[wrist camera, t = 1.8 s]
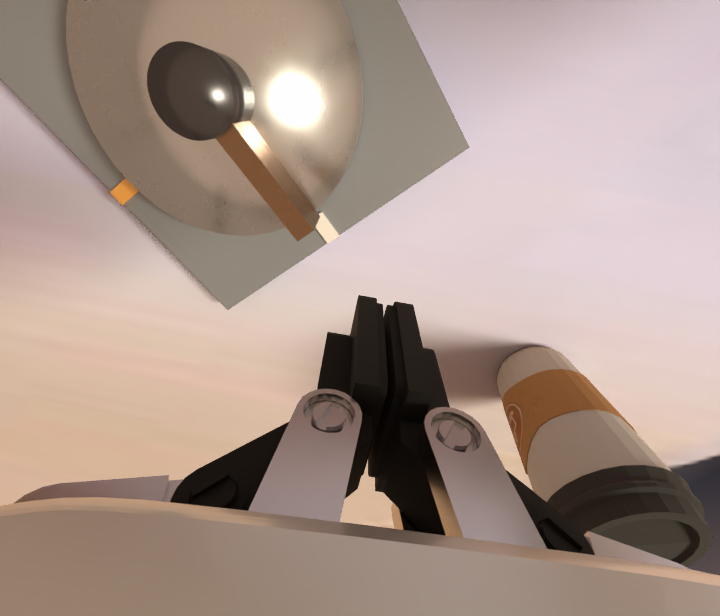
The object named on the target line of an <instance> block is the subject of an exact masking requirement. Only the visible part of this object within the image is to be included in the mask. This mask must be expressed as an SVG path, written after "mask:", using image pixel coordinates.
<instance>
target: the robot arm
mask: <svg viewBox="0 0 720 616" xmlns="http://www.w3.org/2000/svg"><path fill="white" fill-rule="evenodd" d="M367 460H368V475H369V476H370V477H375V491H379V492H384V493H385V494H386V496H387V497H388V498H389V499H390V500H391V501H392V502H393V504H392V518H393V523H394V528H395V529H391V528H383V527H375V526H367V525H359V524H351V523H343V522H340V517H341V513H342V508H343V504H344V499H345V498H346V497H348V496H349V495H350V494H351V493H353V492H354V491H355V490H356V489H357V488H358V485H359V482H360V478H361V475H363V473H364V470H365V467H366V464H367ZM0 616H720V576H718V575H714V574H709V573H704V572H699V571H694V570H691V569H689V568H687V567H685V566H683V565H681V564H679V563H676V562H673V561H671V560H668V559H665V558H662V557H659V556H657V555H654V554H651V553H648V552H645V551H643V550H640V549H637V548H634V547H631V546H629V545H626V544H623V543H620V542H617V541H615V540H612V539H609V538H606V537H603V536H601V535H598V534H595V533H592V532H589V531H587V532H586V534H585V535H583V534H582V532H581V531H580V530H579V529H578V528H577V527H576V526H575V525H574V524H573V523H572V522H571V521H570V520H569V519H567V518H566V517H565V516H563V515H562V514H561V513H560V512H558V511H557V510H556V509H555V508H553V507H552V506H551V505H550V504H548V503H547V502H546V501H545V500H543V499H542V498H541V497H539V496H538V495H537V494H536V493H534V492H533V491H532V490H531V489H529V488H528V487H527V486H526V485H524V484H523V483H522V482H520V481H519V480H518V479H517V478H515V477H514V476H513V475H512V474H510V473H509V472H508V471H507V470H505V468H504V466H503V464H502V462H501V460H500V459H499V457H498V455H497V453H496V451H495V449H494V447H493V445H492V443H491V442H490V440H489V438H488V436H487V434H486V432H485V431H484V429H483V428H482V426H481V425H480V424H479V423H478V422H477V421H476V420H475V419H474V418H473V417H471V416H470V415H468V414H466V413H465V412H463V411H460V410H458V409H455V408H450V407H449V403H448V400H447V396H446V392H445V389H444V385H443V381H442V378H441V374H440V370H439V367H438V363H437V359H436V356H435V353H434V350H432V349H427V348H423V346H422V342H421V337H420V333H419V329H418V324H417V320H416V316H415V311H414V307H413V305H411V304H406V303H400V302H394V304H393V306H391V305H387V307H386V310H385V314H384V317H383V304H379V303H377V299H376V298H371V297H366V296H360V295H359V296H358V300H357V305H356V310H355V315H354V320H353V324H352V329H351V334H350V336H349V335H343V334H337V333H331V332H328V333H327V339H326V344H325V349H324V355H323V360H322V366H321V371H320V377H319V382H318V388H317V390H314V391H311V392H309V393H307V394H306V395H305V396H303V397H302V398H301V400H300V401H299V402H298V404H297V406H296V408H295V410H294V413H293V415H292V417H291V419H290V421H289V422H288V423H286V424H284V425H282V426H280V427H278V428H276V429H274V430H272V431H270V432H268V433H266V434H265V435H263V436H261V437H259V438H257V439H255V440H253V441H251V442H249V443H247V444H245V445H243V446H241V447H240V448H238V449H236V450H234V451H232V452H230V453H228V454H226V455H224V456H222V457H220V458H218V459H216V460H215V461H213V462H211V463H209V464H207V465H205V466H203V467H201V468H199V469H197V470H196V471H194V472H193V473H191V474H190V475H188V476H187V477H186V478H185V479H184V480H171V481H169V475H165V476H151V477H138V478H125V479H112V480H99V481H86V482H73V483H60V484H55V485H50V486H45V487H42V488H39V489H37V490H35V491H33V492H31V493H29V494H26V495H24V496H23V497H22V498H20V499H19V500H18V501H16V502H15V503H13V504H9V505H4V506H0Z"/></svg>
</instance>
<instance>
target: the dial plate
mask: <svg viewBox="0 0 720 616" xmlns="http://www.w3.org/2000/svg"><path fill="white" fill-rule="evenodd" d="M340 1H341V3H342V5H343V7H344V9H345V12H346V14H347V17H348V20H349V23H350V26H351V29H352V31H353V34H354V38H355V42H356V46H357V51H358V55H359V59H360V66H361V74H362V82H363V108H362V117H361V126H360V130H359V134H358V139H357V143H356V146H355V149H354V152H353V154H352V157H351V160H350V163H349V165H348V167H347V169H346V170H345V172H344V174H343V176H342V178H341V180H340V181H339V183H338V184H337V186H336V187H335V189H334V190H333V192H332V193H331V194H330V195H329V196H328V197H327V198H326V200H325V201H324V202H323V203H322V204H321V205H320V206H319V207H318V208H316V209H315V210H316V211H317V213H318V214H319V215H320V218H319V220H318V223H317V225H316V227H315V229H314V231H312V232H311V233H310V234H308V235H307V236H305V237H304V238H302V239H301V240H299V241H298V242H297V240H296V239H295V238H294V237H293V235H292V234H291V233H290V232H289V230H288V229H287V228H283V229H281V230H277V231H274V232H270V233H266V234H259V235H252V236H235V235H227V234H219V233H215V232H211V231H207V230H203V229H201V228H198V227H195V226H193V225H190V224H187V223H185V222H183V221H181V220H179V219H178V218H176V217H174V216H172V215H170V214H169V213H167V212H165V211H164V210H162V209H161V208H159V207H158V206H156V205H155V204H154V203H152V202H151V201H150V200H149V199H147V198H146V197H145V196H144V195H142V194H141V193H140V192H139V191H138V190H137V189H136V188H135V187H134V186H133V185H132V184H131V183H130V182H129V181H128V180H127V179H126V178H125V177H124V176H123V175H122V173H121V172H120V171H119V170H118V169H117V168H116V166H115V165H114V164H113V162H112V161H111V160H110V158H109V157H108V155H107V154H106V153H105V151H104V150H103V148H102V147H101V145H100V143H99V142H98V140H97V138H96V136H95V135H94V133H93V131H92V129H91V127H90V125H89V123H88V121H87V119H86V116H85V114H84V112H83V110H82V107H81V105H80V102H79V99H78V96H77V93H76V90H75V87H74V83H73V79H72V75H71V70H70V66H69V59H68V52H67V44H66V12H67V3H68V0H0V79H1V80H2V81H3V82H4V83H5V84H6V85H7V86H8V87H9V88H10V89H11V90H12V91H13V92H14V93H15V94H16V95H17V96H18V97H19V98H20V99H21V100H22V101H23V102H24V103H25V104H26V105H27V106H28V108H29V109H30V110H31V111H32V112H33V113H34V114H35V115H36V116H37V117H38V118H39V119H40V120H41V121H42V122H43V123H44V124H45V125H46V126H47V127H48V128H49V129H50V130H51V131H52V132H53V133H54V134H55V135H56V136H57V137H58V138H59V139H60V140H61V141H62V142H63V143H64V144H65V145H66V146H67V147H68V148H69V149H70V150H71V151H72V152H73V153H74V154H75V155H76V156H77V157H78V158H79V159H80V160H81V161H82V162H83V163H84V164H85V165H86V166H87V167H88V169H89V170H90V171H91V172H92V173H93V174H94V175H95V176H96V177H97V178H98V179H99V180H100V181H101V182H102V183H103V184H104V185H105V186H106V187H107V188H108V189H109V190H110V191H111V192H110V193H111V194H112V195H113V196H114V197H115V198H116V199H117V201H118V202H119V203H120V204H121V205H125V206H126V207H127V208H128V209H129V210H130V211H131V212H132V213H133V214H134V215H135V216H136V217H137V218H138V219H139V220H140V221H141V222H142V223H143V224H144V225H145V226H146V227H147V228H148V229H149V231H150V232H151V233H152V234H153V235H154V236H155V237H156V238H157V239H158V240H159V241H160V242H161V243H162V244H163V245H164V246H165V247H166V248H167V249H168V250H169V251H170V252H171V253H172V254H173V255H174V256H175V257H176V258H177V259H178V260H179V261H180V262H181V263H182V264H183V265H184V266H185V267H186V268H187V269H188V270H189V271H190V272H191V273H192V274H193V275H194V276H195V277H196V278H197V279H198V280H199V281H200V282H201V283H202V284H203V285H204V286H205V287H206V288H207V289H208V290H209V292H210V293H211V294H212V295H213V296H214V297H215V298H216V299H217V300H218V301H219V302H220V303H221V304H222V305H223V306H224V307H225V308H226V309H227V310H229V309H230V308H232V307H233V306H235V305H236V304H237V303H239V302H240V301H242V300H243V299H245V298H246V297H248V296H249V295H251V294H252V293H254V292H255V291H257V290H258V289H260V288H261V287H263V286H264V285H266V284H267V283H269V282H270V281H272V280H273V279H275V278H276V277H278V276H279V275H281V274H282V273H284V272H285V271H287V270H288V269H290V268H291V267H292V266H294V265H295V264H297V263H298V262H300V261H301V260H303V259H304V258H306V257H307V256H309V255H310V254H312V253H313V252H315V251H316V250H318V249H319V248H321V247H322V246H324V245H325V244H327V243H329V242H331V241H332V240H334V239H335V238H337V237H338V236H339V235H340V234H342V233H343V232H345V231H346V230H347V229H349V228H350V227H352V226H353V225H355V224H356V223H358V222H359V221H361V220H362V219H364V218H365V217H367V216H368V215H370V214H371V213H373V212H374V211H376V210H377V209H379V208H380V207H382V206H383V205H385V204H386V203H388V202H389V201H391V200H392V199H394V198H395V197H397V196H398V195H399V194H401V193H402V192H404V191H405V190H407V189H408V188H410V187H411V186H413V185H414V184H416V183H417V182H419V181H420V180H422V179H423V178H425V177H426V176H428V175H429V174H431V173H432V172H434V171H435V170H437V169H438V168H440V167H441V166H443V165H444V164H446V163H447V162H449V161H450V160H452V159H453V158H454V157H456V156H457V155H459V154H460V153H462V152H463V151H465V150H466V149H468V148H469V145H468V143H467V141H466V139H465V137H464V135H463V133H462V131H461V129H460V127H459V125H458V123H457V121H456V119H455V117H454V115H453V113H452V111H451V109H450V107H449V105H448V103H447V101H446V99H445V97H444V95H443V93H442V91H441V89H440V87H439V85H438V83H437V81H436V79H435V77H434V74H433V72H432V70H431V68H430V66H429V64H428V62H427V60H426V58H425V56H424V54H423V52H422V50H421V48H420V46H419V44H418V42H417V40H416V38H415V36H414V34H413V32H412V30H411V28H410V26H409V24H408V22H407V20H406V18H405V16H404V14H403V12H402V10H401V8H400V6H399V4H398V2H397V0H340Z"/></svg>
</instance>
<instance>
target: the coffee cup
mask: <svg viewBox="0 0 720 616" xmlns="http://www.w3.org/2000/svg"><path fill="white" fill-rule="evenodd" d="M497 386H498V390H499V393H500V396H501V399H502V402H503V406H504V410H505V413H506V416H507V419H508V422H509V425H510V428H511V431H512V434H513V437H514V440H515V443H516V446H517V448H518V451H519V454H520V457H521V460H522V463H523V466H524V469H525V472H526V474H528V477H529V479H530V482H531V485H532V488H533V491H534V493H536V494H537V495H538V496H539V497H541V498H542V499H543V500H545V501H546V502H547V503H548V504H550V505H551V506H552V507H553V508H555V509H556V510H557V511H558V512H560V513H561V514H562V515H563V516H565V517H566V518H567V519H569V520H570V521H571V522H572V523H573V524H574V525H575V526H576V527H577V528H578V529H579V530H580V531H581V532H582V534H583V535H585V534H586V532H587V531H589V532H592V533H595V534H598V535H601V536H603V537H606V538H609V539H612V540H615V541H617V542H620V543H623V544H626V545H629V546H631V547H634V548H637V549H640V550H643V551H645V552H648V553H651V554H654V555H657V556H659V557H662V558H665V559H668V560H671V561H673V562H676V563H679V564H681V565H683V566H685V567H687V566H690V565H692V564H693V563H694V562H695V561H697V560H698V559H699V558H701V557H702V556H703V555H704V554H705V553H706V551H707V550H708V549H709V548H710V546H711V542H712V538H713V535H712V532H711V529H710V527H709V526H708V524H707V523H706V521H705V520H704V510H703V507H702V505H701V503H700V501H699V500H698V499H697V498H696V497H695V496H694V495H693V494H692V492H691V490H690V488H689V486H688V484H687V482H686V481H685V480H684V479H683V478H681V477H680V476H679V475H678V474H676V473H674V472H672V471H671V470H670V469H669V468H668V467H667V466H666V465H665V464H664V463H663V462H662V460H661V459H660V458H659V457H658V456H657V455H656V454H655V453H654V452H653V451H652V450H651V449H650V448H649V446H648V445H647V444H646V443H645V442H644V441H643V440H642V439H641V438H640V437H639V436H638V435H637V433H636V431H635V430H634V428H633V427H632V426H631V425H630V424H629V423H628V422H627V421H626V420H625V419H624V418H623V417H622V415H621V414H620V413H619V412H618V411H617V410H616V409H615V408H614V407H613V406H612V405H611V404H610V403H609V402H608V401H607V399H606V398H605V397H604V396H603V395H602V394H601V393H600V392H599V391H598V390H597V389H596V388H595V387H594V386H593V384H592V383H591V382H590V381H589V380H588V379H587V378H586V377H585V376H584V375H582V374H581V373H580V372H579V371H578V370H577V369H576V368H575V367H574V365H573V364H572V363H571V362H570V361H569V360H568V359H567V358H566V357H565V356H564V355H563V354H562V353H560V352H558V351H556V350H553V349H550V348H546V347H541V346H539V347H529V348H524V349H521V350H519V351H517V352H515V353H513V354H512V355H510V356H509V357H508V358H507V359H506V360H505V361H504V362H503V363H502V365H501V367H500V369H499V372H498V376H497Z"/></svg>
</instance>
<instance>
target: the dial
mask: <svg viewBox="0 0 720 616" xmlns="http://www.w3.org/2000/svg"><path fill="white" fill-rule="evenodd" d="M66 44H67V52H68V59H69V66H70V70H71V75H72V79H73V83H74V87H75V90H76V93H77V96H78V99H79V102H80V105H81V107H82V110H83V112H84V114H85V116H86V119H87V121H88V123H89V125H90V127H91V129H92V131H93V133H94V135H95V136H96V138H97V140H98V142H99V143H100V145H101V147H102V148H103V150H104V151H105V153H106V154H107V155H108V157H109V158H110V160H111V161H112V162H113V164H114V165H115V166H116V168H117V169H118V170H119V171H120V172H121V173H122V175H123V176H124V177H125V178H126V179H127V180H128V181H129V182H130V183H131V184H132V185H133V186H134V187H135V188H136V189H137V190H138V191H139V192H140V193H141V194H142V195H144V196H145V197H146V198H147V199H149V200H150V201H151V202H152V203H154V204H155V205H156V206H158V207H159V208H161V209H162V210H164V211H165V212H167V213H169V214H170V215H172V216H174V217H176V218H178V219H179V220H181V221H183V222H185V223H187V224H190V225H193V226H195V227H198V228H201V229H203V230H207V231H211V232H215V233H219V234H227V235H235V236H252V235H259V234H266V233H270V232H274V231H277V230H281V229H283V228H287V229H288V230H289V232H290V233H291V234H292V235H293V237H294V238H295V239H296V240H297V242H298V241H299V240H301V239H302V238H304V237H305V236H307V235H308V234H310V233H311V232H312V231H314V229H315V227H316V225H317V223H318V220H319V218H320V215H319V214H318V213H317V211H316V210H315V209H316V208H318V207H319V206H320V205H321V204H322V203H323V202H324V201H325V200H326V198H327V197H328V196H329V195H330V194H331V193H332V192H333V190H334V189H335V187H336V186H337V184H338V183H339V181H340V180H341V178H342V176H343V174H344V172H345V170H346V169H347V167H348V165H349V163H350V160H351V157H352V154H353V152H354V149H355V146H356V143H357V139H358V134H359V130H360V126H361V117H362V108H363V82H362V74H361V66H360V59H359V55H358V51H357V46H356V42H355V38H354V34H353V31H352V29H351V26H350V23H349V20H348V17H347V14H346V12H345V9H344V7H343V5H342V3H341V1H340V0H68V3H67V12H66Z"/></svg>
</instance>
